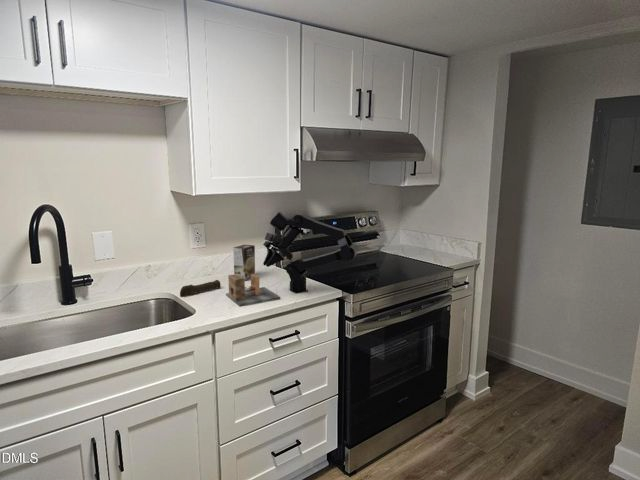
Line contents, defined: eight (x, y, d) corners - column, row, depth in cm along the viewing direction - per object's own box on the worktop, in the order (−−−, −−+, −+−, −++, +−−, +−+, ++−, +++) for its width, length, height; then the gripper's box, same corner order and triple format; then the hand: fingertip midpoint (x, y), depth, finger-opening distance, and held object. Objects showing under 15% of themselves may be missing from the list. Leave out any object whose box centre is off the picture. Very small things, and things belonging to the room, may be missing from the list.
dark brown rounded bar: (216, 287, 196) (216, 277, 195) (221, 289, 193) (220, 279, 192) (177, 296, 183) (176, 285, 182) (181, 298, 180) (181, 288, 179)
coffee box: (244, 281, 204) (243, 248, 201) (233, 279, 207) (232, 247, 204) (255, 276, 212) (254, 245, 209) (245, 275, 215) (244, 244, 212)
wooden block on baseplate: (264, 289, 192) (264, 267, 190) (280, 299, 179) (279, 276, 177) (226, 295, 183) (225, 273, 181) (239, 306, 170) (238, 282, 168)
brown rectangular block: (255, 291, 184) (254, 273, 182) (259, 294, 180) (259, 276, 178) (236, 295, 180) (235, 276, 178) (240, 298, 175) (239, 279, 174)
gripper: (266, 222, 189) (244, 249, 185) (286, 229, 173) (261, 258, 170) (283, 238, 195) (261, 265, 191) (303, 246, 179) (279, 274, 175)
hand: (265, 265), depth 182 cm, fingers open, 3 cm apart
